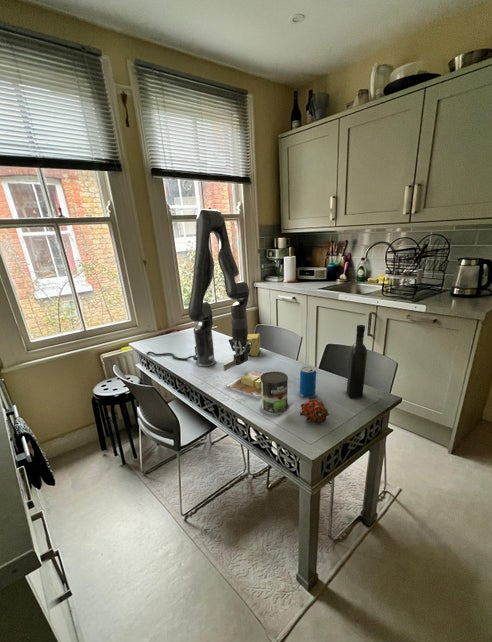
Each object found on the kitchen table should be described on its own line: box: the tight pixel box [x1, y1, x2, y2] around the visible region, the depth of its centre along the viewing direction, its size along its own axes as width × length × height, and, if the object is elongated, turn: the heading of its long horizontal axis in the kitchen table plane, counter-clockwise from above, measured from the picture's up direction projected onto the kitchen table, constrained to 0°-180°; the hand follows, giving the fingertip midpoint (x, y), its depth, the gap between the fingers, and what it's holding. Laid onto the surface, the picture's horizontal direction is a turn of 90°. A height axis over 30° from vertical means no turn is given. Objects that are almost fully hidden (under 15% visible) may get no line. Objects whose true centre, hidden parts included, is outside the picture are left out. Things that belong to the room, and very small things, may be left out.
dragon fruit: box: [299, 399, 330, 424], centre depth 116 cm, size 8×8×12 cm
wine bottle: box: [346, 324, 368, 399], centre depth 126 cm, size 6×6×30 cm
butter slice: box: [255, 378, 261, 389], centre depth 139 cm, size 2×5×3 cm, turn 141°
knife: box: [223, 350, 249, 372], centre depth 150 cm, size 2×16×5 cm, turn 141°
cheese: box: [240, 333, 261, 357], centre depth 180 cm, size 10×11×10 cm
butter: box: [240, 372, 259, 387], centre depth 143 cm, size 7×5×3 cm, turn 51°
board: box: [226, 369, 265, 397], centre depth 144 cm, size 18×20×2 cm
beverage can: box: [299, 366, 317, 399], centre depth 131 cm, size 6×6×12 cm
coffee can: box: [261, 371, 289, 416], centre depth 122 cm, size 10×10×14 cm
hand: (241, 360), depth 153 cm, fingers closed on knife, 2 cm apart
